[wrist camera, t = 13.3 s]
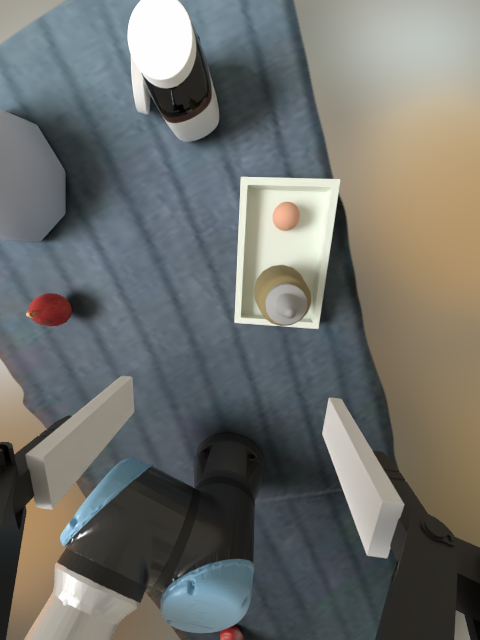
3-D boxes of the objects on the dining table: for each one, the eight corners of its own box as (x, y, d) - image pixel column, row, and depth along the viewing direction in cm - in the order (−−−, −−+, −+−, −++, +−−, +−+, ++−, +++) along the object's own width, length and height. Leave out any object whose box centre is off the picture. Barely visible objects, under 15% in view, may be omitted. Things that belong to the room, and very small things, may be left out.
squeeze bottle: (244, 285, 40) (230, 308, 22) (281, 253, 38) (297, 250, 20) (274, 320, 41) (283, 366, 23) (311, 290, 39) (351, 317, 22)
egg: (296, 232, 37) (300, 229, 33) (270, 231, 37) (271, 228, 33) (299, 205, 36) (303, 199, 32) (273, 204, 36) (274, 198, 32)
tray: (314, 323, 41) (318, 328, 38) (236, 317, 42) (234, 322, 39) (333, 186, 35) (340, 179, 32) (242, 183, 36) (240, 176, 33)
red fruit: (87, 315, 45) (51, 327, 37) (63, 323, 46) (24, 337, 38) (73, 286, 44) (32, 293, 36) (49, 296, 45) (4, 304, 37)
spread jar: (228, 135, 35) (212, 77, 24) (162, 165, 37) (118, 124, 25) (200, 40, 32) (166, -75, 21) (130, 78, 34) (65, -9, 23)
